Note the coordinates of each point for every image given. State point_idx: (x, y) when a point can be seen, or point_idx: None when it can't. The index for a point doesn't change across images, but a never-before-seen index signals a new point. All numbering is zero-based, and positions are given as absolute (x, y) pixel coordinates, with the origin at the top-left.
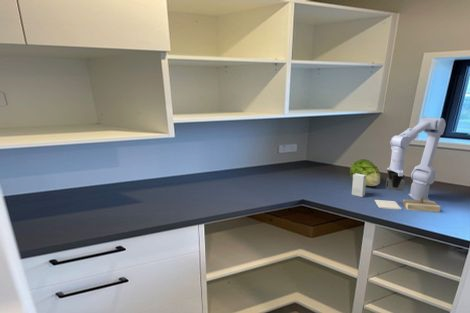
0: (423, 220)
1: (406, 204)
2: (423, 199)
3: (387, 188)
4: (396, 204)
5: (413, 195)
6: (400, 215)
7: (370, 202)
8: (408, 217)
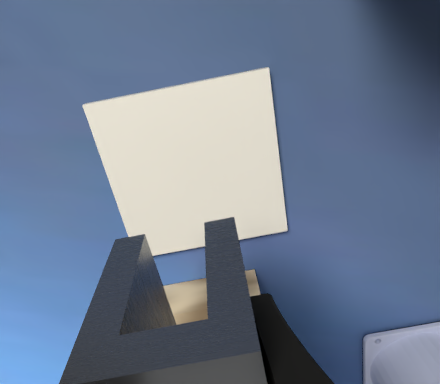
0: (16, 342)
1: (187, 300)
2: (371, 379)
3: (136, 238)
4: None
5: (414, 349)
6: (13, 239)
7: (202, 24)
8: (9, 279)
